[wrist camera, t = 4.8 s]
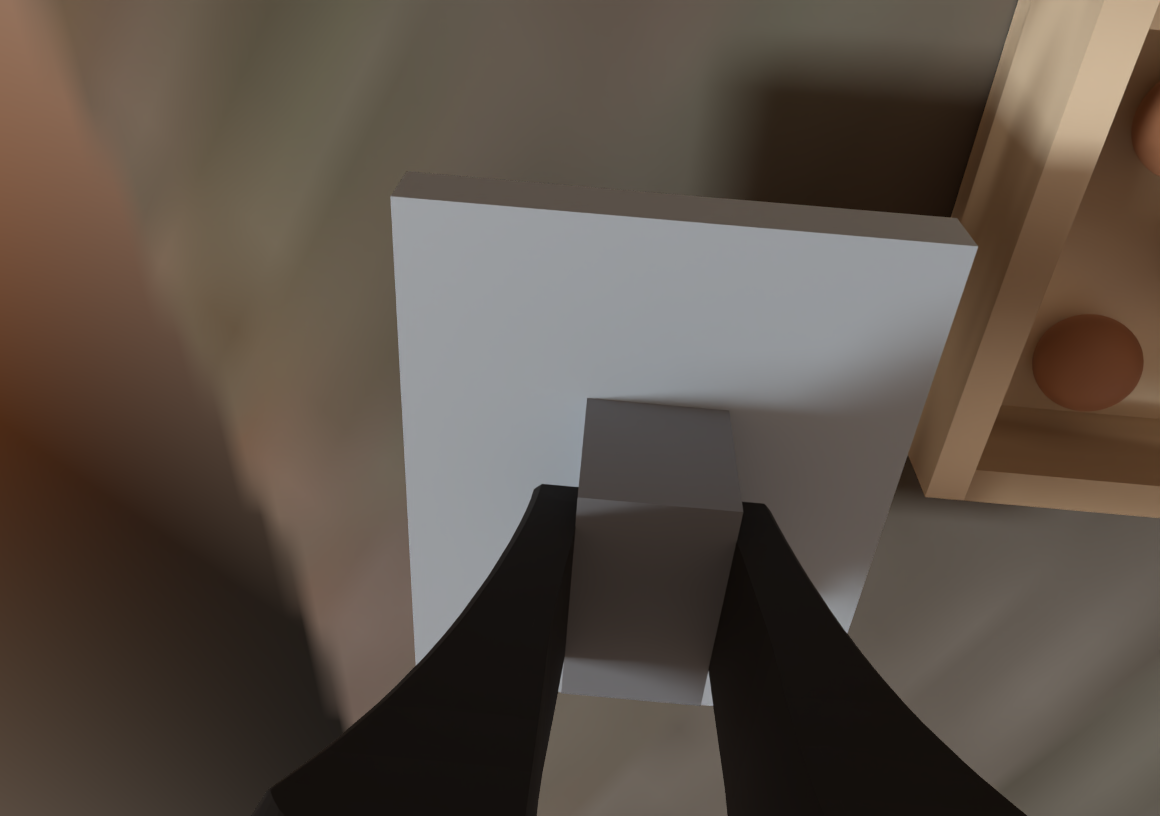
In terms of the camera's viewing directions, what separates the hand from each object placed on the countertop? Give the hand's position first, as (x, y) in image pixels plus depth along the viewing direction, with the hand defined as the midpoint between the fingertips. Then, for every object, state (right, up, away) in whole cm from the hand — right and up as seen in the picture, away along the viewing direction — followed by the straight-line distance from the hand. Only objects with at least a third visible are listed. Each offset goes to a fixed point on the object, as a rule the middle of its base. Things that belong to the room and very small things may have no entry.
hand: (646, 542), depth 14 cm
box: (+11, +6, +5) cm, 13 cm away
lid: (0, +1, +2) cm, 2 cm away
